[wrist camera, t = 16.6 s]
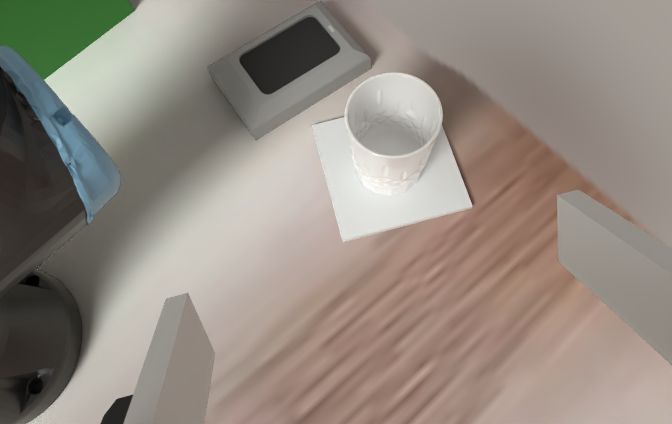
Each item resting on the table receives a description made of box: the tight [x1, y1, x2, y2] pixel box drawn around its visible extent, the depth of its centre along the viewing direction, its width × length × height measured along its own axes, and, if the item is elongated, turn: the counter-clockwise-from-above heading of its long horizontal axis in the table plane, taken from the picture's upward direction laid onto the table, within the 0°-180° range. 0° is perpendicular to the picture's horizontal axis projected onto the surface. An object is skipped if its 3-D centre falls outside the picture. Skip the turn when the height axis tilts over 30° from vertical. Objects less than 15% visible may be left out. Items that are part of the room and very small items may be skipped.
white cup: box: [345, 72, 443, 196], centre depth 42 cm, size 8×8×10 cm
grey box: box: [207, 1, 371, 140], centre depth 51 cm, size 10×4×15 cm
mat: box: [311, 117, 472, 242], centre depth 47 cm, size 13×13×1 cm
